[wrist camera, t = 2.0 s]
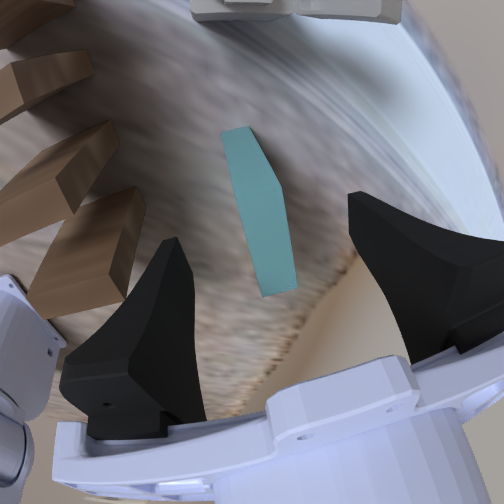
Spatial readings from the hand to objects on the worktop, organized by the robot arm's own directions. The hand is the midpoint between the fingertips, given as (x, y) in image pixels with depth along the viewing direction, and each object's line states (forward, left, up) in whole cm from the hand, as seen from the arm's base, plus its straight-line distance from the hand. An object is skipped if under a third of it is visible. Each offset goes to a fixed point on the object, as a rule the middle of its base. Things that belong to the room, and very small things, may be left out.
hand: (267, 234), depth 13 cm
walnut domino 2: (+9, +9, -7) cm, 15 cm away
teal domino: (0, 0, -7) cm, 7 cm away
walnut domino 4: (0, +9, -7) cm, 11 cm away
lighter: (+9, -3, -7) cm, 12 cm away
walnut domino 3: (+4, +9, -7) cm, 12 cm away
